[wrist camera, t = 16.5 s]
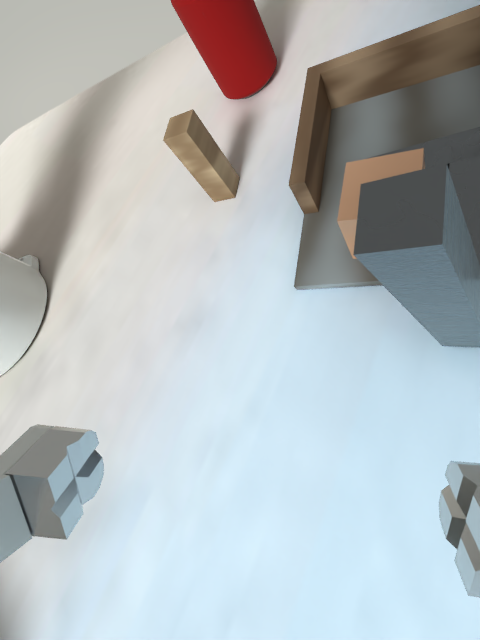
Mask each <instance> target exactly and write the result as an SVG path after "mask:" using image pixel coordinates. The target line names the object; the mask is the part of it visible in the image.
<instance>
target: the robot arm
mask: <svg viewBox="0 0 480 640" xmlns="http://www.w3.org/2000/svg"><path fill="white" fill-rule="evenodd" d="M46 301H47V288H46V283H45V281H44V279H43V277H42V276H41V275H40V273H39V261H38V258H36V257H34V256H32V255H26V256H24V257H21V258H19V259H16V258H14V257H12V256H9V255H7V254H5V253H3V252H1V251H0V376H1V375H2V374H4V373H5V372H6V371H8V370H9V369H10V368H11V367H12V366H13V365H14V364H15V363H16V362H17V361H18V360H19V359H20V358H21V356H22V355H23V354H24V353H25V351H26V350H27V348H28V347H29V345H30V344H31V342H32V340H33V339H34V337H35V335H36V333H37V331H38V328H39V326H40V324H41V321H42V318H43V315H44V312H45V307H46ZM98 444H99V442H98V438H97V435H96V432H94V431H92V430H85V429H76V428H67V427H59V426H55V427H54V426H46V425H35V426H32V427H30V428H29V429H28V430H27V431H26V432H25V433H24V434H23V435H22V436H21V437H20V438H19V439H18V440H17V441H15V442H14V443H13V444H12V445H11V446H10V447H9V448H8V449H7V450H6V451H5V452H4V453H3V454H2V455H1V456H0V563H1V562H2V561H3V560H4V559H6V558H7V557H8V556H10V555H11V554H12V553H13V552H15V551H16V550H17V549H19V548H20V547H21V546H22V545H24V544H25V543H26V542H28V541H29V540H30V539H32V536H38V537H48V538H57V539H67V538H68V537H69V535H70V534H71V532H72V530H73V529H74V527H75V526H76V524H77V523H78V521H79V520H80V518H81V516H82V515H83V504H84V503H86V502H87V501H89V500H90V499H92V498H93V497H94V496H95V494H96V493H97V491H98V489H99V488H100V485H101V481H102V478H103V475H104V464H103V459H102V457H101V456H100V455H99V454H98V453H97V452H96V450H95V449H96V447H97V446H98ZM445 476H446V479H447V481H448V483H449V485H448V486H447V487H446V488H444V489H443V490H442V491H441V494H440V500H439V516H440V521H441V525H442V529H443V531H444V534H445V537H446V539H447V540H448V541H449V542H450V543H451V544H452V545H453V546H454V547H455V548H456V549H457V553H456V557H455V560H454V561H455V563H456V566H457V568H458V571H459V573H460V576H461V579H462V581H463V584H464V586H465V589H466V591H467V594H468V596H474V597H480V463H469V462H456V461H451V462H450V463H449V464H448V466H447V469H446V473H445Z"/></svg>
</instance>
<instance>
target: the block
mask: <svg viewBox="0 0 480 640" xmlns="http://www.w3.org/2000/svg"><path fill="white" fill-rule="evenodd" d="M422 169H425V159H424V148H421V149H416V150H410V151H405V152H400V153H395V154H389V155H384V156H379V157H374V158H368V159H363V160H358V161H353V162H347V163H346V167H345V173H344V180H343V186H342V193H341V199H340V205H339V212H338V218H337V222H338V225H339V227H340V229H341V232H342V234H343V237H344V239H345V241H346V244H347V246H348V248H349V251H350V253H351V255H352V258H353V259H357V258H356V257H355V256H354V255H353V254H354V244H355V235H356V225H357V215H358V206H359V196H360V187H361V184H363V183H367V182H371V181H376V180H380V179H384V178H388V177H392V176H397V175H401V174H405V173H409V172H413V171H417V170H422Z"/></svg>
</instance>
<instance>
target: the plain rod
mask: <svg viewBox="0 0 480 640" xmlns="http://www.w3.org/2000/svg"><path fill="white" fill-rule="evenodd" d="M163 140H164V142H165V143H166V144H167V145H168V146H169V148H170V149H171V150H172V151H173V153H174V154H175V155H176V156H177V157H178V159H179V160H180V161H181V162H182V163H183V165H184V166H185V167H186V168H187V169H188V171H189V172H190V173H191V174H192V175H193V177H194V178H195V179H196V180H197V182H198V183H199V184H200V185H201V186H202V188H203V189H204V190H205V191H206V192H207V194H208V195H209V196H210V197H211V198H212V200H213V201H214V202H217V201H221V200H226V199H231V198H235V196H236V192H237V187H238V183H239V178H240V177H239V176H238V175H237V173H236V172H235V170H234V169H233V167H232V166H231V164H230V163H229V161H228V160H227V158H226V157H225V155H224V154H223V153H222V151H221V150H220V148H219V147H218V145H217V144H216V142H215V141H214V139H213V138H212V136H211V135H210V133H209V132H208V131H207V129H206V128H205V126H204V125H203V123H202V122H201V120H200V119H199V117H198V116H197V114H196V113H195V111H194V110H190V111H188V112H185V113H182V114H180V115H177V116H174V117H172V118H170V120H169V123H168V126H167V130H166V133H165V136H164V139H163Z"/></svg>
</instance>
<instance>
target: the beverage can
mask: <svg viewBox="0 0 480 640" xmlns="http://www.w3.org/2000/svg"><path fill="white" fill-rule="evenodd" d="M171 3H172V5H173V7H174V9H175V11H176V12H177V14H178V16H179V18H180V20H181V21H182V23H183V25H184V27H185V28H186V30H187V32H188V34H189V36H190V37H191V39H192V41H193V43H194V44H195V46H196V48H197V49H198V51H199V53H200V55H201V56H202V58H203V60H204V62H205V63H206V65H207V67H208V69H209V70H210V72H211V74H212V75H213V77H214V79H215V80H216V82H217V84H218V86H219V87H220V89H221V91H222V92H223V94H224V95H225V96H226V97H227V98H229V99H243V98H248V97H250V96H252V95H254V94H256V93H257V92H259V91H260V90H261V89H262V88H263V87H264V86H265V85H266V84H267V83H268V81H269V79H270V77H271V76H272V74H273V72H274V70H275V68H276V64H277V59H276V56H275V53H274V51H273V48H272V45H271V43H270V40H269V38H268V35H267V33H266V30H265V27H264V25H263V22H262V20H261V17H260V15H259V12H258V10H257V7H256V5H255V2H254V0H171Z"/></svg>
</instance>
